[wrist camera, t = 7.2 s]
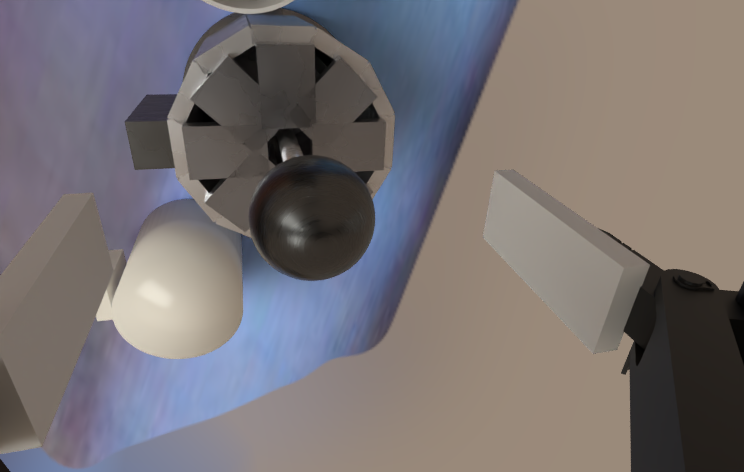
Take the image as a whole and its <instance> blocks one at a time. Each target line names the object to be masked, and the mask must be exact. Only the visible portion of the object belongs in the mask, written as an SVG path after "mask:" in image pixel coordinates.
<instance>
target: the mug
mask: <svg viewBox="0 0 744 472" xmlns="http://www.w3.org/2000/svg"><path fill="white" fill-rule="evenodd" d="M215 223H216V222H213V221H212V220H211V219H210V217H209V216H208V215H207V214H206V213H205V212H204V210H203V209H202V208H201V207H200V206H199V205H198V203H197V202H196V201H195V200H194V199H181V200H175V201H171V202H168V203H166V204H163V205H161V206H160V207H158V208H156V209H155V210H154V211H152V212H151V213H150V214H149V215H148V217H147V218H146V219H145V221H144V222H143V224H142V226H141V229H140V231H139V234H138V237H137V239H136V242H135V244H134V247H133V249H132V252H131V254H130V257H129V259H128V262H127V264H126V260H125V255H124V251H123V249H120V250H108V251H109V255H110V259H111V262H112V266H113V270H114V272H113V275H112V277H111V280H110V282H109V284H108V287H107V289H106V292H105V294H104V297H103V299H102V302H101V304H100V306H99V309H98V311H97V314H96V318H97V321H104V320H113V321H114V324H115V326H116V328H117V330H118V331H119V333H120V334H121V335H122V337H123V338H124V339H125V340H126V341H127V342H128V343H130V344H131V345H132V346H134V347H135V348H137V349H139V350H141V351H143V352H145V353H147V354H150V355H153V356H157V357H162V358H169V359H185V358H192V357H197V356H201V355H204V354H207V353H209V352H212V351H214V350H216V349H217V348H219V347H221V346H222V345H223V344H225V343H226V342H227V341H228V340H229V339H230V338H231V337H232V336H233V335H234V334H235V332H236V331H237V329H238V327H239V325H240V323H241V319H242V315H243V280H242V238H241V234H240V233H238V232H235V231H233V230H230V229H228V228H225V227H222V226H220V225H217V224H215Z"/></svg>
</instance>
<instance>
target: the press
mask: <svg viewBox="0 0 744 472" xmlns="http://www.w3.org/2000/svg"><path fill="white" fill-rule="evenodd" d="M255 44H256V58H257V72H258V81H257V80H256V79H255V78H253V77H252V76H251V75H250V74H249V73H248V72H247V71H246V70H245V69H244V68H243V67H242V66H241V65H240V64H239V63H237V62H236V61H235V60H234V59H233V58H234V57H236V56H238V55H239V54H241V53H243V52H244V51H246V50H247V49H249V48H251V47H252V46H254V45H255ZM315 55H316V56H317V57H318V58H320V59H321V60H322V62H323V63H324V64H325V65H326V66H327V67H326V68H325V69H324V71H323V72H322V73H321V74H320V75H319V76H318V77H317V78H316V79H315ZM394 113H395V112H394V110H393V108H392V106H391V104H390V102H389V100H388V98H387V96H386V94H385V92H384V90H383V88H382V86H381V84H380V82H379V80H378V78H377V76H376V74H375V72H374V70H373V68H372V66H371V64H370V62H369V61H368V60H367V59H365V58H364V57H362V56H360V55H359V54H357V53H356V52H354V51H353V50H351V49H350V48H348V47H347V46H345V45H344V44H342V43H340V42H339V41H337V40H336V39H335V38H334V37H333V36H332V35H331V34H330V33H329V32H328V31H327V30H326V29H325V28H324V27H322V26H321V25H320V24H318V23H317V22H315V21H314V20H312V19H310V18H308V17H306V16H304V15H302V14H299V13H297V12H294V11H292V10H288V9H284V8H278V9H276V10H273V11H269V12H264V13H256V14H243V13H235V12H234V13H232V14H230V15H228V16H226V17H224V18H222V19H221V20H219V21H218V22H217V23H215V24H214V25H213V26H211V27H210V28H209V29H208V30H207V31H206V32H205V33H204V34H203V36H202V37H201V38H200V40H199V41H198V43H197V44H196V45H195V47H194V49H193V51H192V53H191V55H190V57H189V59H188V62H187V65H186V68H185V72H184V77H183V83H182V85H181V88H180V90H179V92H178V94H170V95H146V96H145V98H144V99H143V100H142V101H141V102H140V104H139V105H138V106H137V107H136V109H135V110H134V111H133V112H132V114H131V115H130V116H129V117H128V119H127V120H126V121H125V125H126V130H127V135H128V139H129V144H130V149H131V154H132V159H133V163H134V168H135V170H140V169H163V168H175V171H176V177H177V178H178V181H179V182H180V183H181V185H182V186H183V187H184V188H185V189H186V190H187V192H188V193H189V194H190V195H191V196H192V197H193V199H194V200H195V201H196V202H197V203H198V205H199V206H200V207H201V208H202V209H203V210H204V212H205V213H206V214H207V215H208V216H209V217H210V219H211V220H212V221H213V222H216V223H215V224H217V225H220V226H222V227H225V228H228V229H230V230H233V231H235V232H238V233H240V234H243V235H245V236H248V237H250V238H252V237H251V234H250V229H249V223H248V214H249V206H250V201H251V198H252V195H253V193H254V191H255V189H256V187H257V185H258V184H259V182H260V180H261V179H262V178H263V177H264V176H265V174H267V173H268V172H269V171H270V170H271V169H272V168H274V167H275V166H277V165H278V163H276V162H275V161H274V160H273V159H272V158H271V157H269V156H268V146H267V142H268V141H269V140H270V139H271V138H272V137H273V135H274V134H275V133H276V132H277V131H278V130H279V129H283V128H299V129H300V130H301V131H303V132H304V133H305V134H306V135H307V136H308V137H309V138H310V152H311V153H310V154H309V155H319V156H325V157H329V158H332V159H335V160H337V161H339V162H341V163H343V164H345V165H346V166H348V167H349V168H351V169H352V170H353V171H354V172H355V173H356V174H357V175H358V176H359V177H360V178H361V179H362V181H363V182H364V183H365V185H366V186H367V189H368V191H369V193H370V195H371V197H372V199H373V197H374V196H375V194H376V193H377V191H378V189H379V188H380V186H381V185H382V183H383V181H384V180H385V178H386V177H387V175H388V173H389V172H390V170H391V168H390V167H392V157H393V141H394V124H395V114H394ZM210 117H212V118H213V119H214V120H215V121H216V122H212V121H211V118H210Z"/></svg>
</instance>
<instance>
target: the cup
mask: <svg viewBox="0 0 744 472" xmlns="http://www.w3.org/2000/svg"><path fill="white" fill-rule="evenodd" d="M202 1H204V2H206V3H208V4H210V5H212V6H215V7H217V8H220V9H223V10H226V11H230V12H235V13H243V14H256V13H264V12H269V11H273V10H276V9H278V8H281V7H283V6H285V5H287V4H289V3H291V2H292V1H294V0H202Z"/></svg>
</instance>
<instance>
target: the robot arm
mask: <svg viewBox="0 0 744 472" xmlns="http://www.w3.org/2000/svg"><path fill="white" fill-rule="evenodd" d="M483 238H484V239H485V240H486V241H487V242H488V243H489V244H490V245H491V246H492V248H493V249H494V250H496V252H497V253H498V254H499V255H500V256H501V257H502V258H503V259H504V260H505V261H506V262H507V263H508V264H509V265H510V266H511V268H512V269H513V270H514V271H515V272H516V273H517V274H518V275H519V276H520V277H521V278H522V279H523V280H524V281H525V282H526V283H527V284H528V286H529V287H531V289H532V290H533V291H534V292H535V293H536V294H537V295H538V296H539V297H540V298H541V299H542V300H543V301H544V302H545V303H546V305H547V306H548V307H549V308H550V309H551V310H552V311H553V312H554V313H555V314H556V315H557V316H558V317H559V318H560V319H561V320H562V321H563V322H564V324H566V326H567V327H568V328H569V329H570V330H571V331H572V332H573V333H574V334H575V335H576V336H577V337H578V338H579V339H580V340H581V341H582V343H583V344H584V345H585V346H586V347H587V348H588V349H589V350H590V351H591V352H592V353H593V354H596V353H601V352H607V351H613V350H617V349H618V346H619V344H620V341H621V338H622V336H623V333H624V332H625V333H626V334H628V336H630V337H631V338H632V339H633V340H634V342H633V345H632V347H631V350H630V352H629V355H628V357H627V360H626V362H625V365H624V367H623V369H622V372H621V373H622V374H626V372H627V370H629V369H630V423H631V425H630V426H631V472H744V282H743V284H742V286H741V289H740V290H739V292H738V291H727V290H726V291H725V290H719V289H718V287H717V286H716V285H715V284H714V283H713V282H711V281H710V280H708V279H707V278H705V277H703V276H701V275H698V274H696V273H692V272H689V271H685V270H678V269H671V270H670V269H668V270H666V271H664V270H662V269H660V268H659V267H658V266H656V265H655V264H653V263H652V262H651V261H649V260H648V259H646V258H645V257H643V256H642V255H640V254H639V253H637V252H636V251H635V250H631V248H630V247H629V246H627V245H625V244H624V243H621V241H620V240H619V239H617V238H616V237H614V236H613V235H611V234H610V233H608V232H606V231H603V230H601V229H599V228H596V227H595V226H594V225H592V224H591V223H589V222H587V221H586V220H585V219H583V218H582V217H581V216H579V215H578V214H576V213H575V212H574V211H572V210H571V209H569V208H567V207H566V206H565V205H563V204H562V203H561V202H559V201H558V200H556V199H555V198H553V197H552V196H551V195H549V194H548V193H546V192H545V191H543V190H542V189H541V188H539V187H538V186H536V185H535V184H533V183H532V182H530V181H529V180H528V179H526V178H525V177H523V176H522V175H520V174H519V173H518V172H516V171H515V170H499V171H495V172H494V177H493V183H492V188H491V194H490V199H489V206H488V211H487V216H486V222H485V227H484V233H483ZM113 272H114V270H113V266H112V262H111V259H110V255H109V251H108V247H107V244H106V240H105V236H104V232H103V229H102V225H101V221H100V217H99V213H98V210H97V206H96V202H95V198H94V195H93V193H81V194H64V195H63V196H62V197H61V199H60V200H59V201H58V203H57V204H56V205H55V206H54V208H53V209H52V210H51V212H50V213H49V214H48V215H47V217H46V218H45V219H44V221H43V222H42V223H41V224H40V226H39V227H38V228H37V229H36V231H35V232H34V233H33V235H32V236H31V237H30V238H29V240H28V241H27V242H26V244H25V245H24V246H23V247H22V249H21V250H20V251H19V253H18V254H17V255H16V256H15V258H14V259H13V260H12V261H11V263H10V264H9V265H8V267H7V268H6V269H5V270H4V272H3V273H2V274H1V276H0V454H3V453H9V452H14V451H21V450H26V449H32V448H38V447H42V446H43V443H44V441H45V438H46V436H47V434H48V431H49V429H50V426H51V424H52V421H53V419H54V416H55V414H56V412H57V409H58V407H59V404H60V402H61V399H62V397H63V394H64V392H65V390H66V387H67V385H68V382H69V380H70V377H71V375H72V372H73V370H74V368H75V365H76V363H77V360H78V358H79V355H80V353H81V350H82V348H83V346H84V343H85V341H86V338H87V336H88V333H89V331H90V328H91V326H92V324H93V321H94V319H95V316H96V314H97V311H98V309H99V306H100V304H101V302H102V299H103V297H104V294H105V292H106V289H107V287H108V284H109V282H110V280H111V277H112V275H113ZM0 472H10V471H9V469H8V468H7V467H6V466H5V464H4V463H3V462H2V460H1V459H0Z"/></svg>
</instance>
